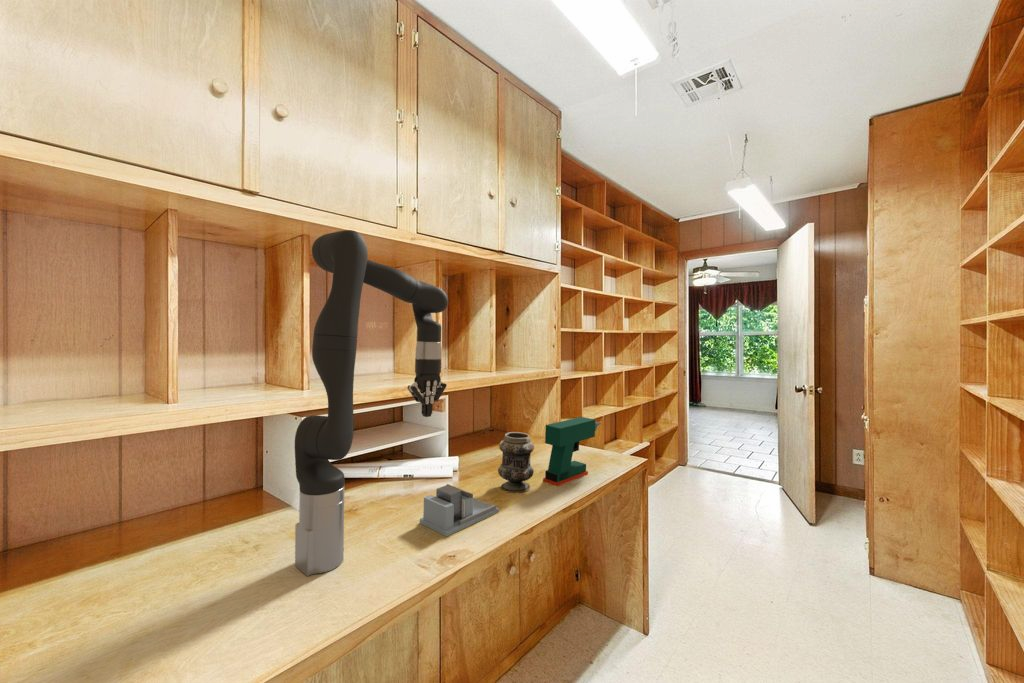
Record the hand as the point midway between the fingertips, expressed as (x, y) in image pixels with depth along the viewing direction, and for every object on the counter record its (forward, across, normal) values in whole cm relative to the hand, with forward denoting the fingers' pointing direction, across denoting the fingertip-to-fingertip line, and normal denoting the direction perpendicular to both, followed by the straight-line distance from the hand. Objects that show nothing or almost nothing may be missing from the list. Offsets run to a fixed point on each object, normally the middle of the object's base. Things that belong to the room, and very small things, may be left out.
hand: (426, 416), depth 124 cm
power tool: (+27, -59, +14) cm, 66 cm away
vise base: (+28, -4, +11) cm, 30 cm away
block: (+26, 0, +12) cm, 29 cm away
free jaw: (+26, -3, +11) cm, 29 cm away
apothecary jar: (+27, -32, +8) cm, 43 cm away
